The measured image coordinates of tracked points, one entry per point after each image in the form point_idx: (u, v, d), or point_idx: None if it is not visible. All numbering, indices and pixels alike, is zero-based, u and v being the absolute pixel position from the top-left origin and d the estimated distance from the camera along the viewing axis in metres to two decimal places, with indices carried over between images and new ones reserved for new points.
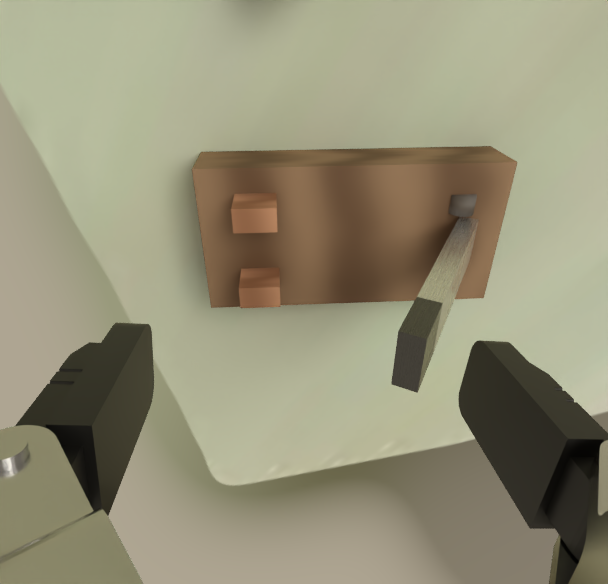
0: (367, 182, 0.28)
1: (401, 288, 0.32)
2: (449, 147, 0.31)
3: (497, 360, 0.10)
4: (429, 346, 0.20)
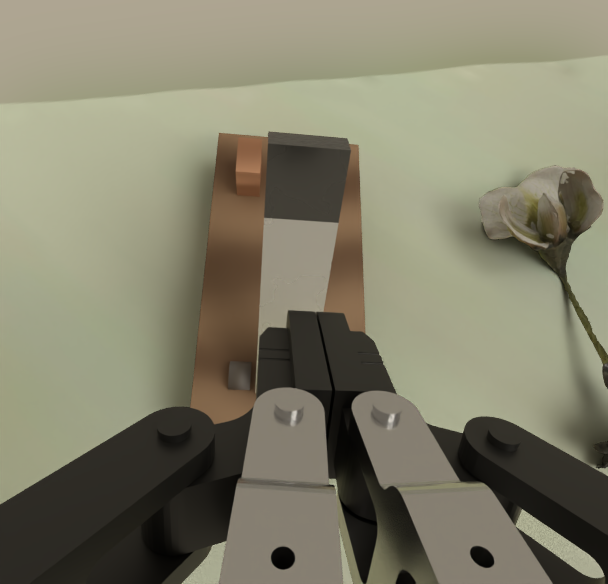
0: (346, 280, 0.28)
1: (217, 319, 0.26)
2: None
3: (320, 327, 0.11)
4: (312, 178, 0.17)
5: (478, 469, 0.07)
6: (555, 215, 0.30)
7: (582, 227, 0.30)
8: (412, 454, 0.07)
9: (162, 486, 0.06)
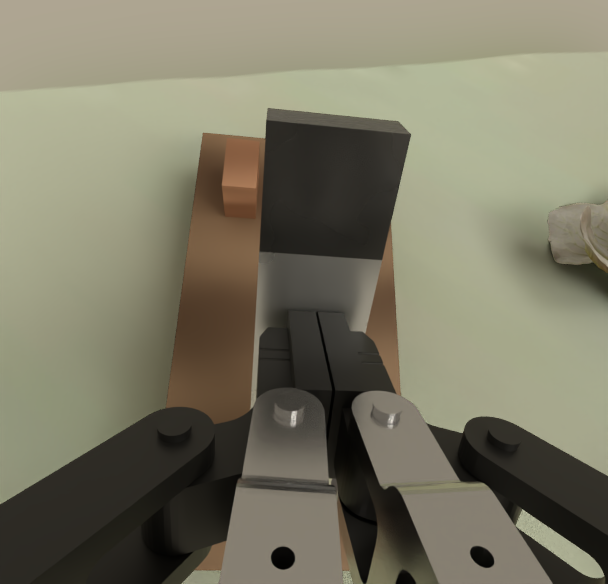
0: (374, 336, 0.20)
1: (193, 396, 0.18)
2: None
3: (320, 327, 0.11)
4: (342, 184, 0.10)
5: (478, 469, 0.07)
6: None
7: None
8: (412, 454, 0.07)
9: (162, 486, 0.06)
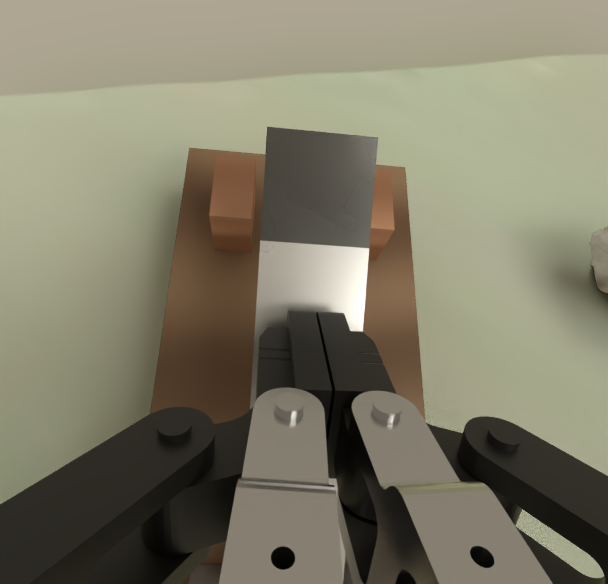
0: None
1: None
2: None
3: (320, 327, 0.11)
4: (329, 178, 0.12)
5: (478, 469, 0.07)
6: None
7: None
8: (412, 454, 0.07)
9: (162, 486, 0.06)
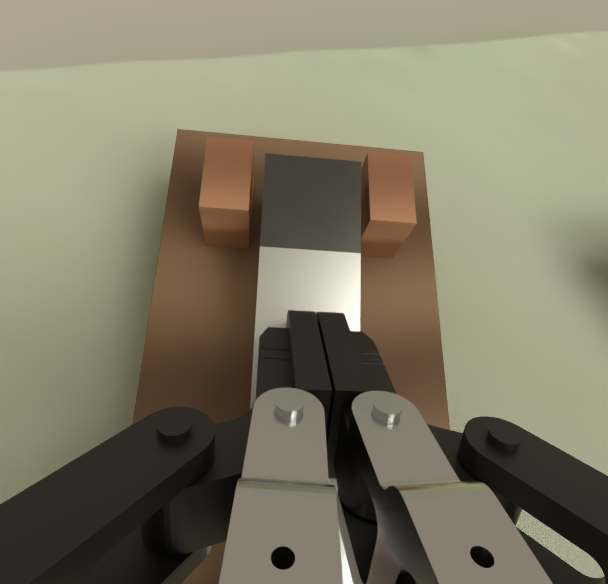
0: None
1: None
2: None
3: (320, 327, 0.11)
4: (320, 194, 0.13)
5: (478, 469, 0.07)
6: None
7: None
8: (412, 454, 0.07)
9: (162, 486, 0.06)
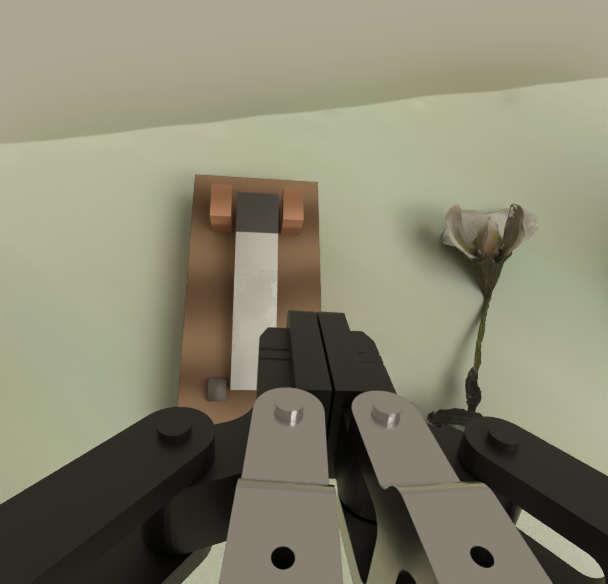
0: (306, 304, 0.33)
1: (197, 342, 0.31)
2: None
3: (320, 327, 0.11)
4: (261, 208, 0.32)
5: (478, 469, 0.07)
6: (487, 234, 0.36)
7: (505, 253, 0.36)
8: (412, 454, 0.07)
9: (162, 487, 0.06)
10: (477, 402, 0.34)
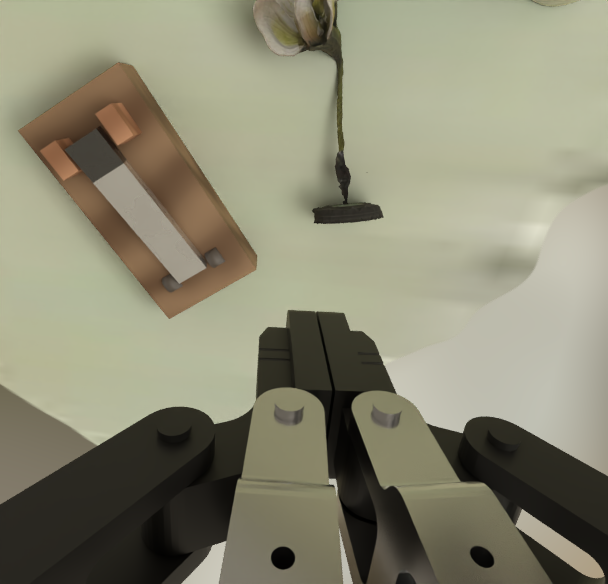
0: (188, 190, 0.38)
1: (137, 262, 0.41)
2: (241, 232, 0.44)
3: (320, 327, 0.11)
4: (94, 151, 0.34)
5: (478, 469, 0.07)
6: (300, 24, 0.33)
7: (327, 35, 0.33)
8: (412, 454, 0.07)
9: (162, 486, 0.06)
10: (348, 183, 0.41)
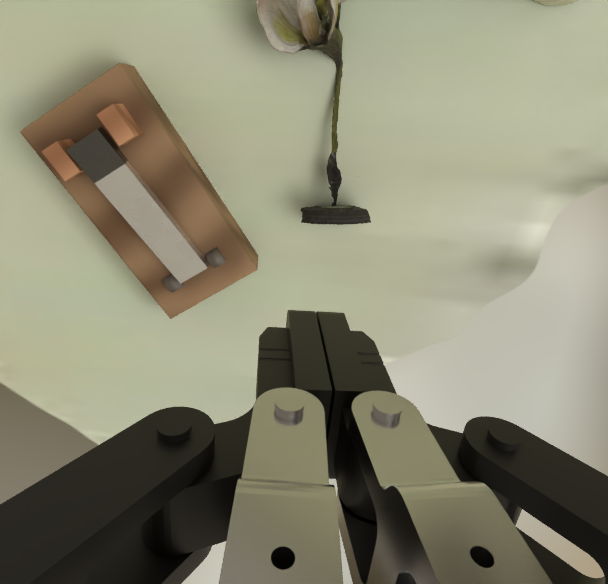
0: (189, 190, 0.38)
1: (138, 262, 0.41)
2: (242, 232, 0.44)
3: (320, 327, 0.11)
4: (95, 152, 0.34)
5: (478, 469, 0.07)
6: (302, 22, 0.33)
7: (328, 36, 0.33)
8: (412, 454, 0.07)
9: (162, 487, 0.06)
10: (338, 185, 0.41)
